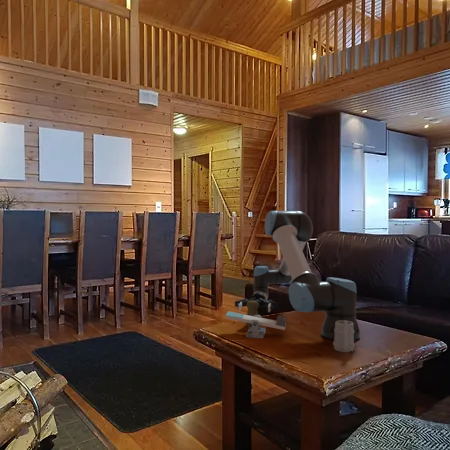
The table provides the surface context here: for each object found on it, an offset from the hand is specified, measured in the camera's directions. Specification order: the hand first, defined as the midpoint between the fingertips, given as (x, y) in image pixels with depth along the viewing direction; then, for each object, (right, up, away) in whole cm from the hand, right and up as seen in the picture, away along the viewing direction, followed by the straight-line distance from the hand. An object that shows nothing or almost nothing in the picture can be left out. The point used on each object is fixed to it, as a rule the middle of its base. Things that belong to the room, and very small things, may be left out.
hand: (254, 308), depth 194 cm
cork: (-1, -6, -8) cm, 10 cm away
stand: (0, -6, -20) cm, 21 cm away
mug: (+30, -7, -41) cm, 51 cm away
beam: (0, -1, -20) cm, 20 cm away
